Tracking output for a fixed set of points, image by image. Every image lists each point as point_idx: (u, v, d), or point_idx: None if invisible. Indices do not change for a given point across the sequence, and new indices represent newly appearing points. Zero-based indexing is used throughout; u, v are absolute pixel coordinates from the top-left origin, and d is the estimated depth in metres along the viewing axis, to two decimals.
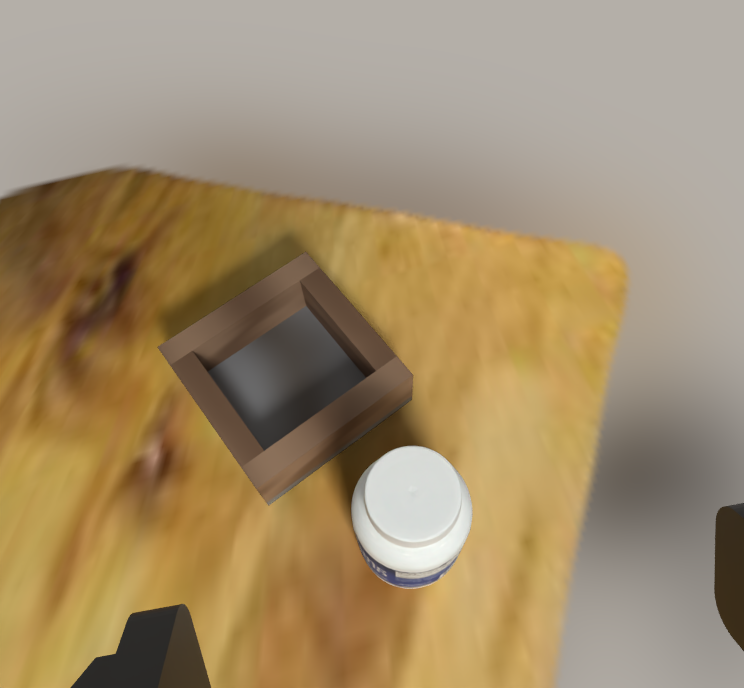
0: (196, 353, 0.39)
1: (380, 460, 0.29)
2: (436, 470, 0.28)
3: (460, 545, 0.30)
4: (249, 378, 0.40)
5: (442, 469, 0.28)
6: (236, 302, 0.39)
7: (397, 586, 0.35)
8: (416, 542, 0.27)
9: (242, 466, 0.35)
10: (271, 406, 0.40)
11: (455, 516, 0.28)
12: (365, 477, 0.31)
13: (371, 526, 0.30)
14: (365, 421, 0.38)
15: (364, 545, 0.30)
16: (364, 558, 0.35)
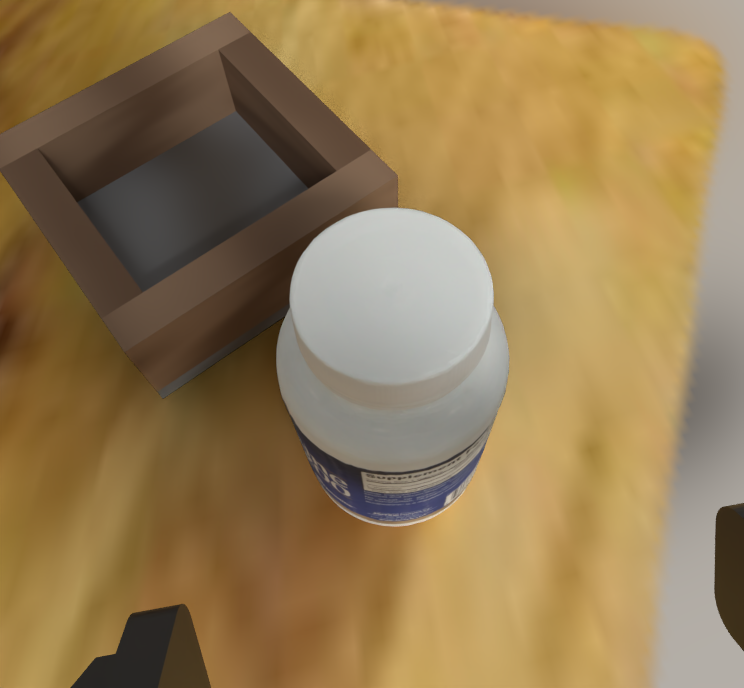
0: (48, 157, 0.24)
1: (324, 233, 0.14)
2: (439, 249, 0.14)
3: (488, 416, 0.15)
4: (142, 210, 0.26)
5: (452, 246, 0.14)
6: (115, 80, 0.25)
7: (372, 522, 0.20)
8: (398, 386, 0.13)
9: (103, 317, 0.20)
10: (173, 248, 0.25)
11: (481, 333, 0.13)
12: None
13: (311, 379, 0.15)
14: None
15: (298, 419, 0.15)
16: None
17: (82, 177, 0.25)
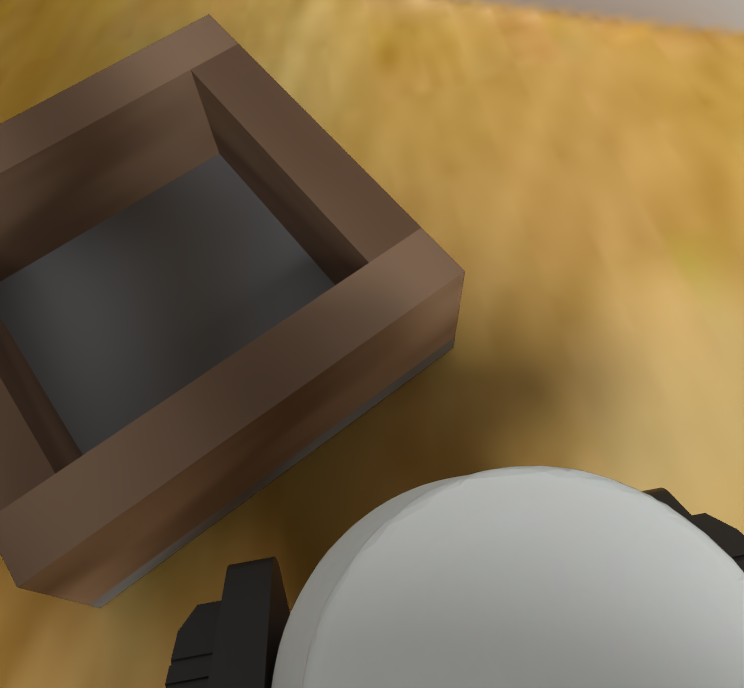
0: None
1: (383, 538, 0.06)
2: (665, 591, 0.06)
3: None
4: (80, 302, 0.18)
5: (696, 586, 0.06)
6: (36, 116, 0.17)
7: None
8: None
9: None
10: (123, 363, 0.17)
11: None
12: (324, 585, 0.08)
13: None
14: (341, 396, 0.15)
15: None
16: None
17: None
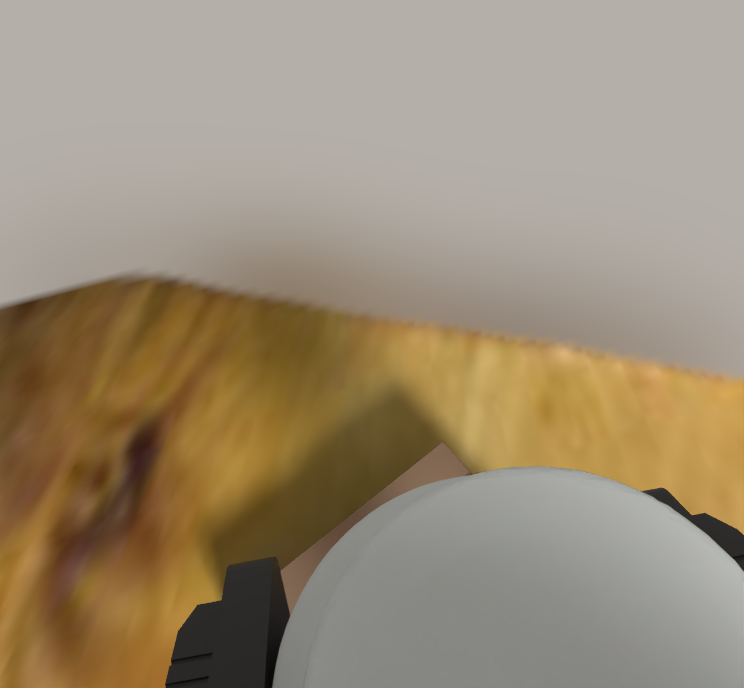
0: None
1: (383, 539, 0.06)
2: (667, 592, 0.06)
3: None
4: None
5: (697, 587, 0.06)
6: (335, 539, 0.23)
7: None
8: None
9: None
10: None
11: None
12: (325, 585, 0.08)
13: None
14: None
15: None
16: None
17: None
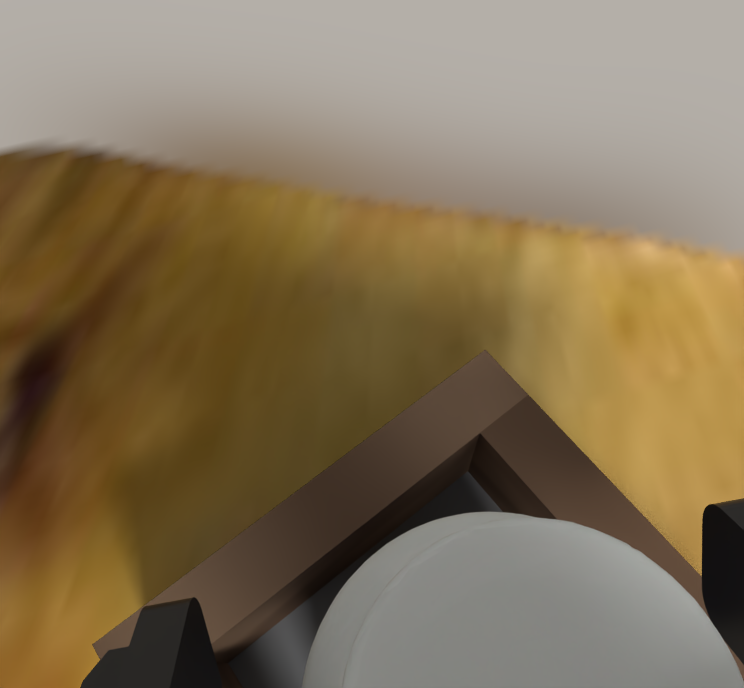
0: None
1: (404, 579, 0.07)
2: (638, 625, 0.07)
3: None
4: None
5: (662, 621, 0.07)
6: (312, 499, 0.14)
7: None
8: None
9: None
10: None
11: None
12: (346, 611, 0.09)
13: None
14: None
15: None
16: None
17: (247, 638, 0.15)
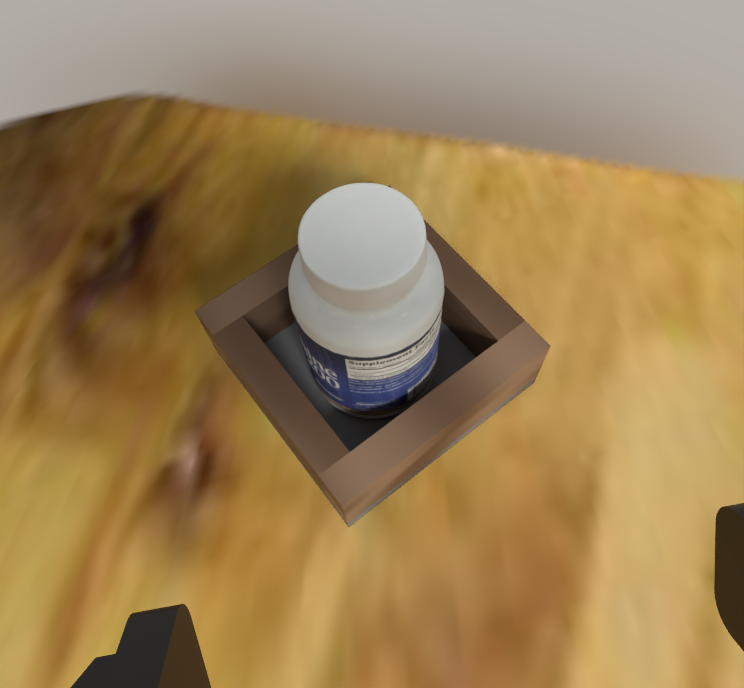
0: (248, 320, 0.28)
1: (319, 199, 0.22)
2: (393, 208, 0.22)
3: (427, 320, 0.23)
4: None
5: (401, 206, 0.22)
6: None
7: (356, 415, 0.28)
8: (365, 291, 0.20)
9: (320, 474, 0.25)
10: None
11: (417, 259, 0.21)
12: None
13: (311, 295, 0.23)
14: (481, 411, 0.27)
15: (303, 323, 0.23)
16: (314, 379, 0.28)
17: (266, 329, 0.30)
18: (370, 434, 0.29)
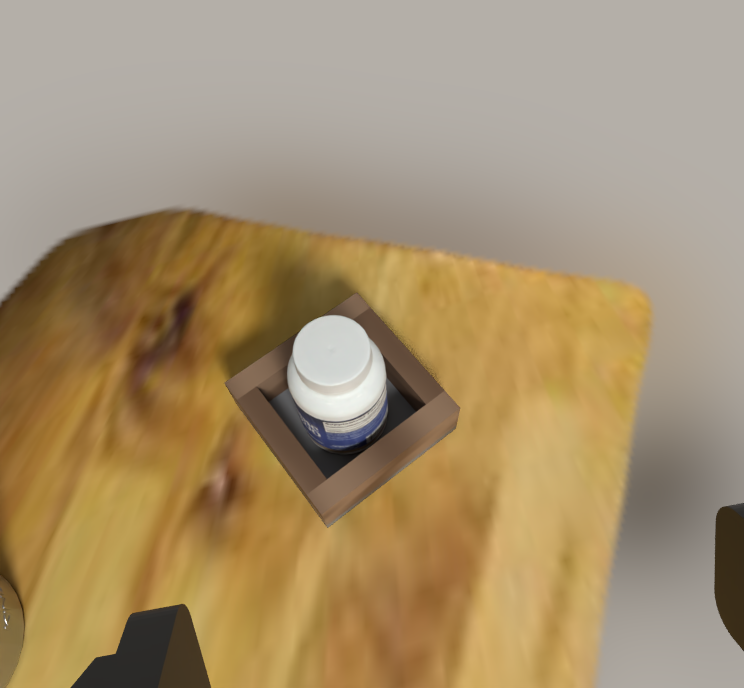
0: (259, 388, 0.42)
1: (306, 326, 0.36)
2: (351, 332, 0.35)
3: (374, 398, 0.37)
4: None
5: (355, 331, 0.35)
6: (294, 340, 0.43)
7: (333, 452, 0.42)
8: (333, 386, 0.34)
9: (307, 493, 0.39)
10: None
11: (364, 366, 0.34)
12: None
13: (301, 383, 0.36)
14: (415, 450, 0.41)
15: (296, 399, 0.37)
16: (305, 428, 0.42)
17: (272, 392, 0.44)
18: (342, 465, 0.42)
